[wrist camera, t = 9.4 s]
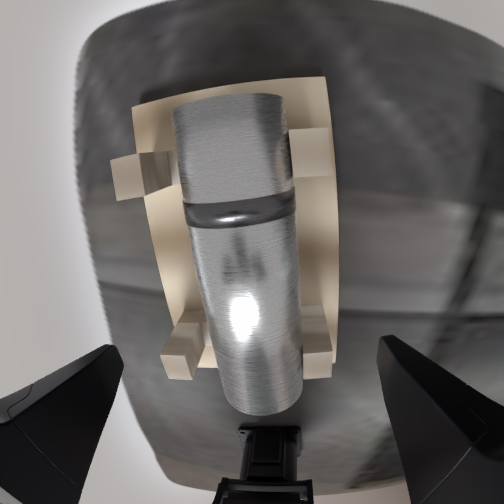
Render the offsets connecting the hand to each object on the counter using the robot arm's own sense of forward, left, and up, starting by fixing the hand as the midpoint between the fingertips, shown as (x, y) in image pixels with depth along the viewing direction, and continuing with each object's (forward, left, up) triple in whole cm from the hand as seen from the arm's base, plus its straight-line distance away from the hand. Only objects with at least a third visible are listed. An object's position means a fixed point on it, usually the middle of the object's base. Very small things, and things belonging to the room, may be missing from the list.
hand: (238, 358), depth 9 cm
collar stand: (0, +1, -11) cm, 11 cm away
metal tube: (0, +1, -8) cm, 9 cm away
